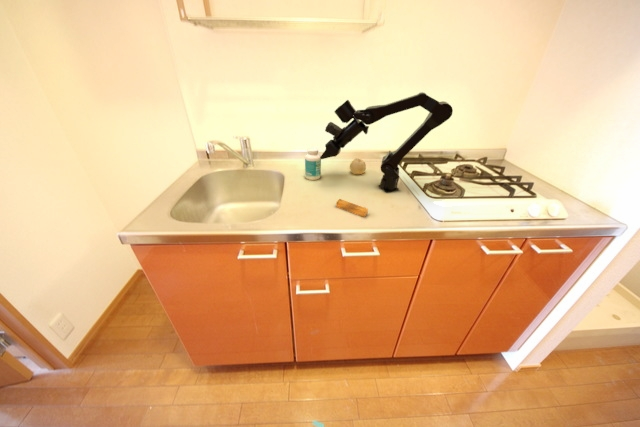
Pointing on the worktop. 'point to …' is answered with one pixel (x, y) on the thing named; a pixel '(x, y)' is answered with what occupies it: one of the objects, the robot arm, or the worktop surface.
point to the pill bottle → (312, 164)
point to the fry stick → (352, 207)
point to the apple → (357, 166)
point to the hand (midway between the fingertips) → (323, 155)
